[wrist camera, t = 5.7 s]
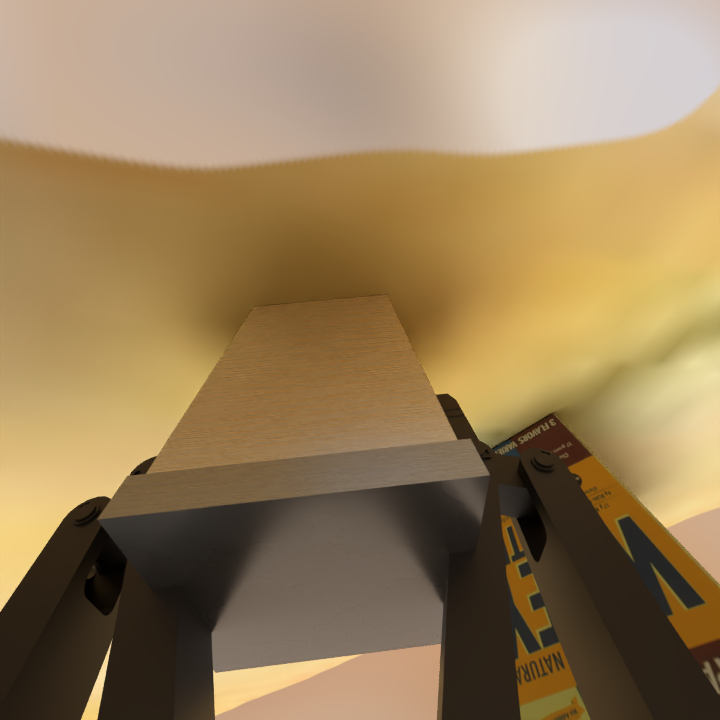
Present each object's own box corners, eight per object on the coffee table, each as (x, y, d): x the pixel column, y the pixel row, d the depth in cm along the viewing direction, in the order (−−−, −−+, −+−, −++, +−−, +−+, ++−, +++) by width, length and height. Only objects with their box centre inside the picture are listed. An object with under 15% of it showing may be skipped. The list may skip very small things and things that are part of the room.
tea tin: (248, 303, 16) (97, 519, 6) (390, 290, 17) (490, 474, 6) (277, 415, 20) (215, 672, 9) (393, 403, 20) (458, 641, 10)
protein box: (552, 408, 22) (920, 785, 8) (620, 509, 28) (889, 813, 14) (427, 483, 24) (545, 856, 11) (515, 559, 31) (658, 853, 17)
